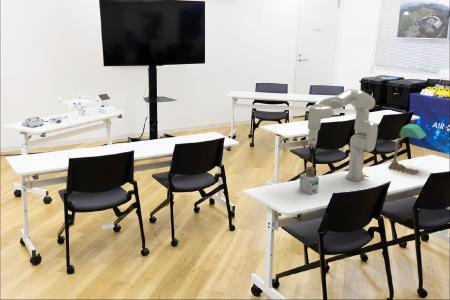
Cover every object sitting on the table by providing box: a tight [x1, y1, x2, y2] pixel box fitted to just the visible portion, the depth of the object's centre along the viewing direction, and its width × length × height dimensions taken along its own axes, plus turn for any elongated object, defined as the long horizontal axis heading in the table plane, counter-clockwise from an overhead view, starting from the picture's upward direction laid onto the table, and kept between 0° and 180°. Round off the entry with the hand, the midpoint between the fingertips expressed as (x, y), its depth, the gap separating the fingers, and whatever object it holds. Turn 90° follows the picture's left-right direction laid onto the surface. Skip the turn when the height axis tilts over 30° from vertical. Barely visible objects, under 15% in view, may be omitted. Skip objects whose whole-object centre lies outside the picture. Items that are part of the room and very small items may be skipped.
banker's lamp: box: [387, 123, 427, 175], centre depth 334 cm, size 16×21×35 cm
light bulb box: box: [298, 172, 320, 195], centre depth 291 cm, size 11×7×11 cm, turn 40°
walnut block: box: [305, 166, 315, 177], centre depth 289 cm, size 5×5×5 cm
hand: (311, 152), depth 285 cm, fingers open, 9 cm apart
